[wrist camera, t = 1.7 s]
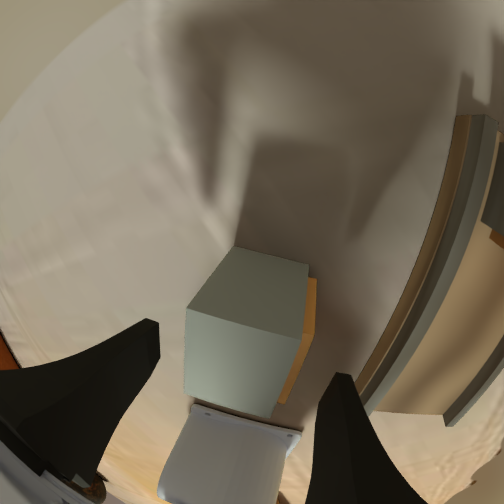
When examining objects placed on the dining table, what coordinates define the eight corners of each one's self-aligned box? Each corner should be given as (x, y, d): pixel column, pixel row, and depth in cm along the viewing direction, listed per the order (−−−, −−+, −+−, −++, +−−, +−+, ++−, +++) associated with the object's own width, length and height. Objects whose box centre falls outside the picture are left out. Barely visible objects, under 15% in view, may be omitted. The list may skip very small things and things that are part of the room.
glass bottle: (80, 469, 59) (47, 519, 34) (56, 444, 53) (15, 500, 27) (121, 491, 56) (88, 549, 31) (98, 471, 49) (58, 537, 24)
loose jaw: (233, 245, 15) (186, 307, 9) (318, 266, 14) (316, 343, 9) (222, 320, 17) (183, 393, 11) (294, 340, 16) (280, 421, 11)
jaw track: (349, 391, 17) (348, 486, 10) (456, 116, 10) (560, 111, 3) (446, 401, 16) (464, 477, 9) (555, 180, 8) (634, 217, 2)
